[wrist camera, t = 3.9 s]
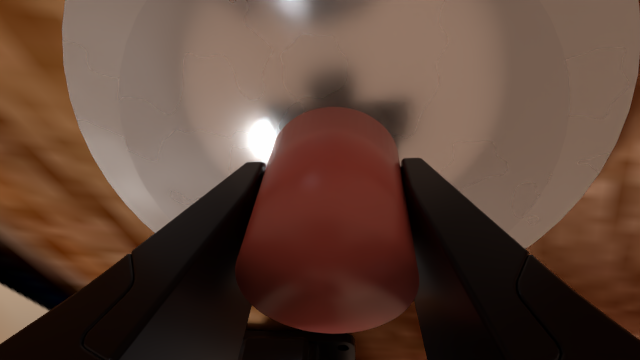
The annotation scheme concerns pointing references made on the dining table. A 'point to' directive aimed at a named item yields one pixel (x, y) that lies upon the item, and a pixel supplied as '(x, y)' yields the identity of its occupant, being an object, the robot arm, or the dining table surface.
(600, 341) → the robot arm
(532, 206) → the lid
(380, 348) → the dining table surface
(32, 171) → the dining table surface
